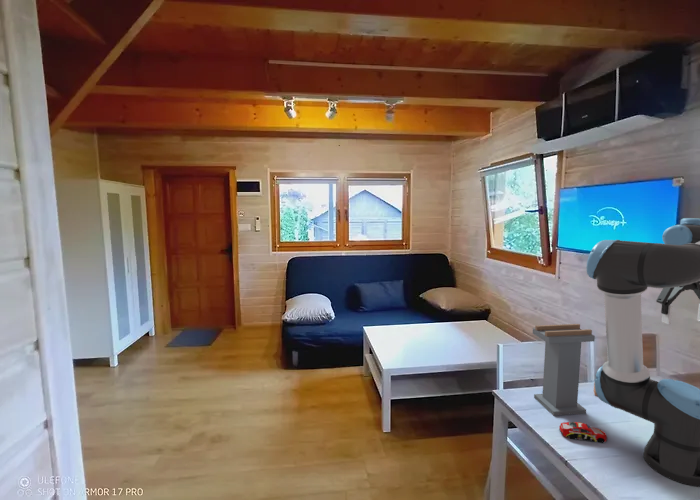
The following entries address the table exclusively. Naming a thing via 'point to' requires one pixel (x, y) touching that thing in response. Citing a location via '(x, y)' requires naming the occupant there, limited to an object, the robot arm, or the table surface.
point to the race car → (582, 432)
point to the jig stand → (562, 367)
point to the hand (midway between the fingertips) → (683, 322)
